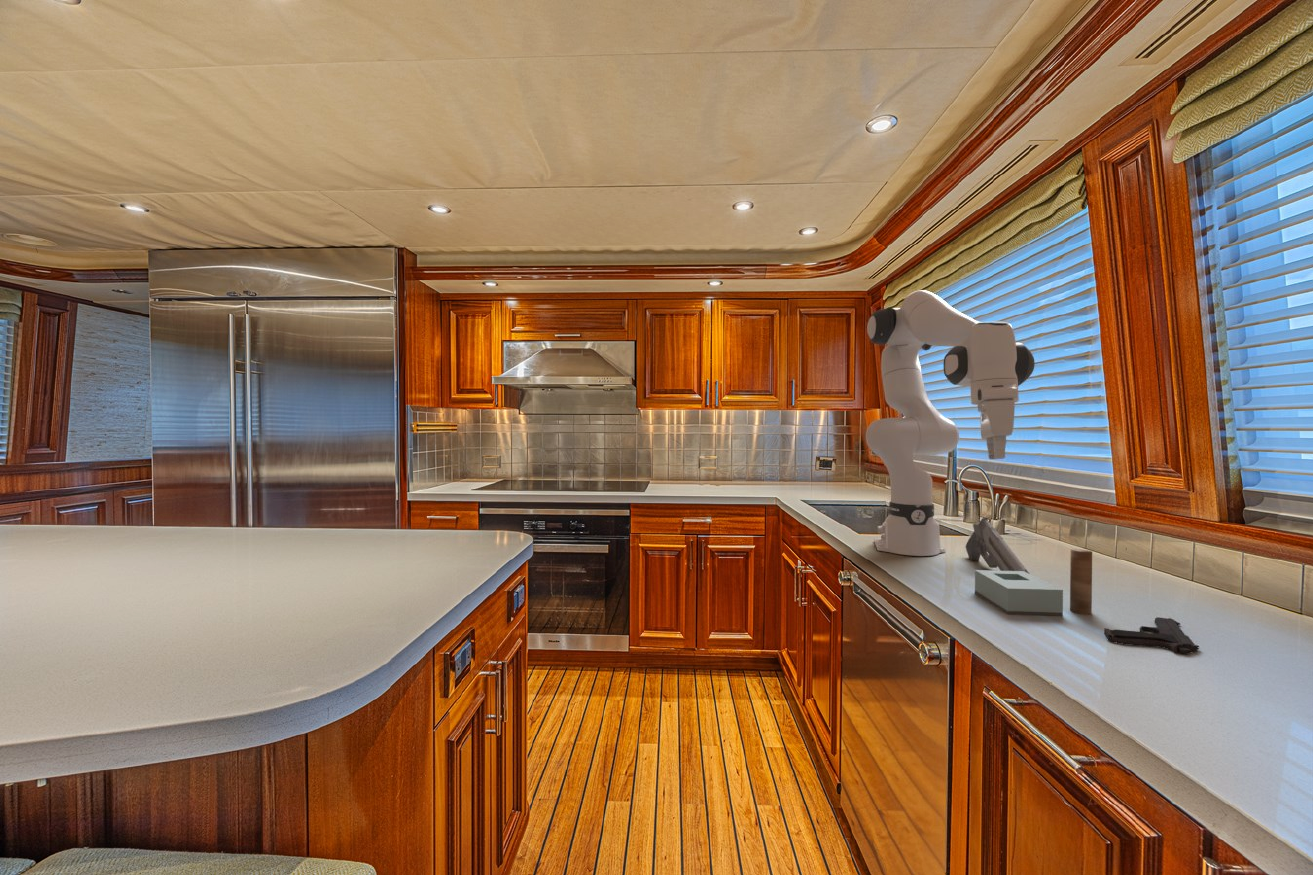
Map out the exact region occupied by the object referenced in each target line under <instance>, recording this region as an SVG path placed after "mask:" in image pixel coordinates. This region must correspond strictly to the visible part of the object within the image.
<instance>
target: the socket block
mask: <svg viewBox="0 0 1313 875" xmlns="http://www.w3.org/2000/svg"><path fill="white" fill-rule="evenodd" d="M974 593H975V594H976V595H978V596H979V597H980V598H981V599H983V600H985V601H986V602H988V603H990V604H992V605H993V606H994V607H995V608H996V607H997V609H998V610H1001V612H1003V613H1005V614H1006V615H1024V616H1025V615H1027V616H1030V615H1031V616H1053V617H1054V616H1056V617H1058V616H1059V617H1060V616H1061V617H1062V616H1063V615H1064V613H1063V612H1064V589H1061V588H1060V587H1057V586H1056V585H1053V584H1051V583H1049V582H1047V581H1046V580H1043V579H1041V578H1039V577H1036V576H1035V575H1032V574H1030V573H1029V574H1028V573H1026V572H1024V571H1001V570H990V569H989V570H985V569H983V570H982V569H975V570H974Z"/></svg>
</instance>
